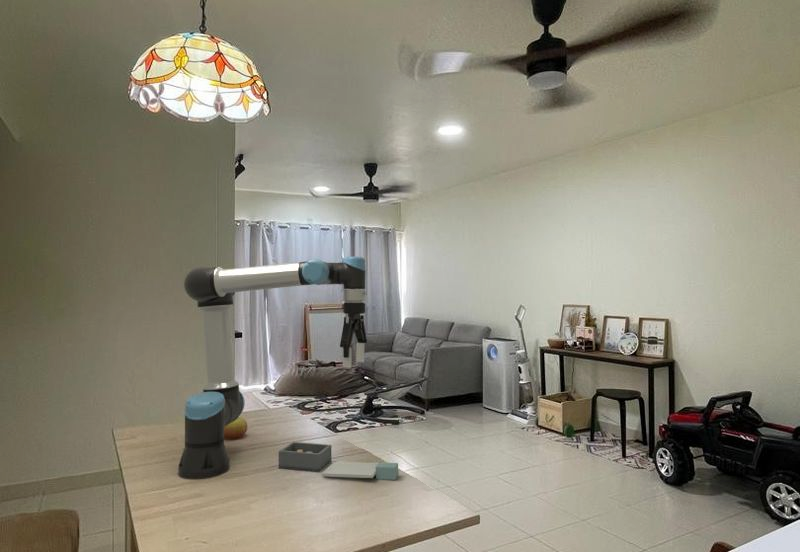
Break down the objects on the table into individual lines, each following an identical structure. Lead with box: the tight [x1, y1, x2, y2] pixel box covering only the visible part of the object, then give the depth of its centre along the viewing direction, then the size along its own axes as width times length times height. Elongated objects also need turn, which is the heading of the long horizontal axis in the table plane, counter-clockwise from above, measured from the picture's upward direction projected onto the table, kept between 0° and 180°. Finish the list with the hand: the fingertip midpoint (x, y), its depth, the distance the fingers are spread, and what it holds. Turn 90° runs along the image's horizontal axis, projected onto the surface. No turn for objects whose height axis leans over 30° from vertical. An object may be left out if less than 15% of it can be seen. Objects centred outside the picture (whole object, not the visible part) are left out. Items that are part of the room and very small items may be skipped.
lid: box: [321, 461, 399, 481], centre depth 152 cm, size 22×11×4 cm, turn 77°
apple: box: [224, 416, 248, 440], centre depth 192 cm, size 10×10×8 cm
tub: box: [278, 441, 332, 473], centre depth 161 cm, size 14×10×6 cm
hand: (353, 364), depth 169 cm, fingers open, 13 cm apart
